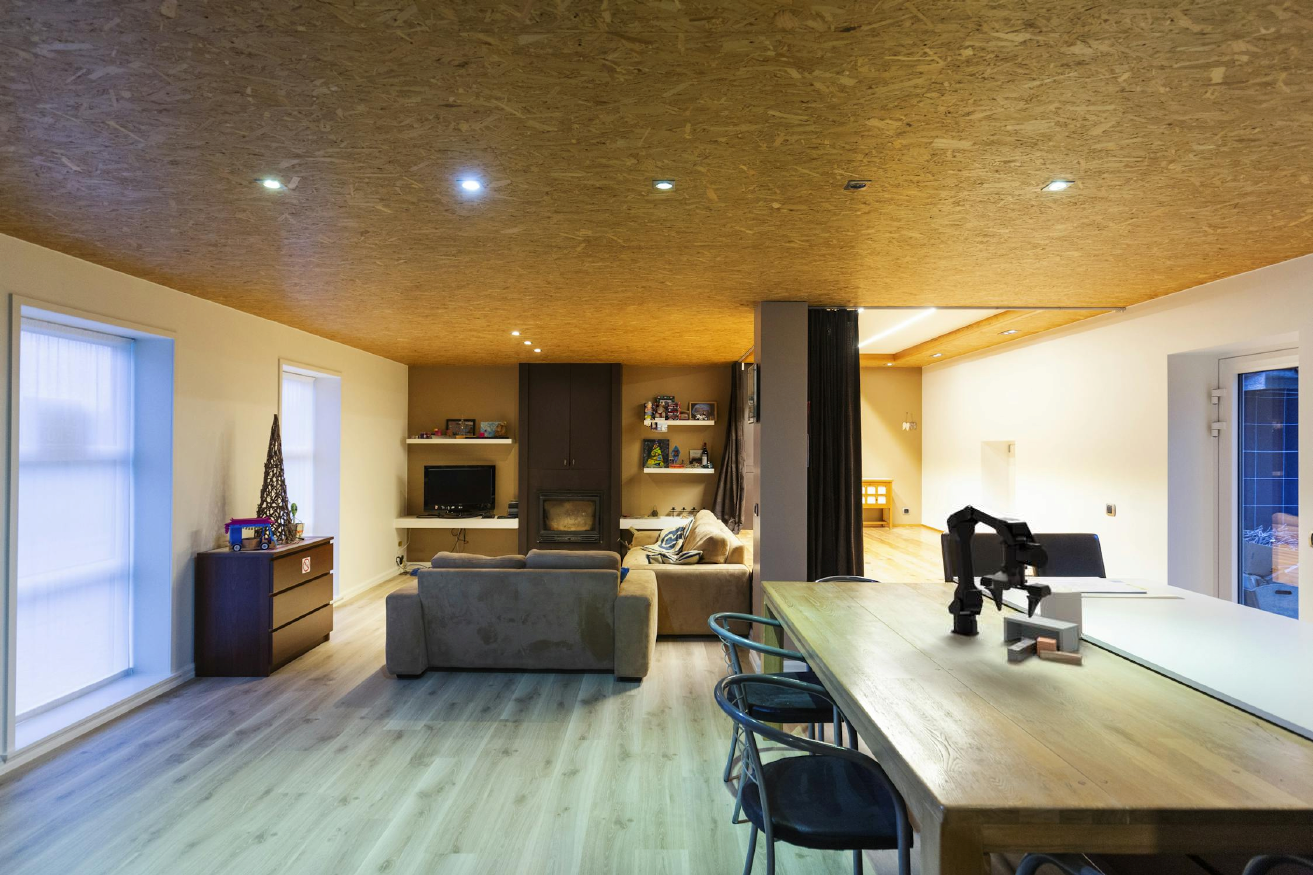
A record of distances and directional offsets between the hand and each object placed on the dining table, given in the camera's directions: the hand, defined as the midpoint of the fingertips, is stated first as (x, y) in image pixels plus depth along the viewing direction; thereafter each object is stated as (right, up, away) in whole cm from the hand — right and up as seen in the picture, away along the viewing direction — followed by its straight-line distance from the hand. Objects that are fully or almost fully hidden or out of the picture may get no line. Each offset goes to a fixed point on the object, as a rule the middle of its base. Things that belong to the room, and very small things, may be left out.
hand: (1014, 614), depth 197 cm
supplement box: (+26, -12, +20) cm, 35 cm away
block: (+9, -12, -1) cm, 15 cm away
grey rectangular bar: (+2, -12, -1) cm, 12 cm away
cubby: (+13, -12, +9) cm, 20 cm away
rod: (+10, -12, -7) cm, 17 cm away
